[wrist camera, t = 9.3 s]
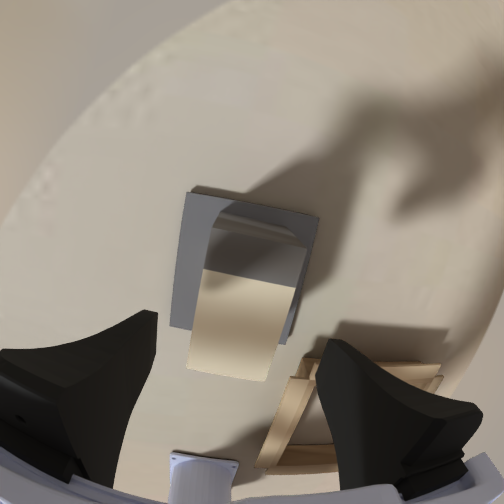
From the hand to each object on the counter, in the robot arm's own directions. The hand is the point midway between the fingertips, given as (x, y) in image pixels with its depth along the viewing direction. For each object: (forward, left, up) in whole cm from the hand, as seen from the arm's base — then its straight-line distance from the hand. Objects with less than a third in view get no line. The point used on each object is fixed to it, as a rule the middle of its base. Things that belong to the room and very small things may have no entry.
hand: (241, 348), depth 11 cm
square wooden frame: (-13, -13, -9) cm, 21 cm away
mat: (0, 0, -9) cm, 9 cm away
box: (0, 0, -9) cm, 9 cm away
